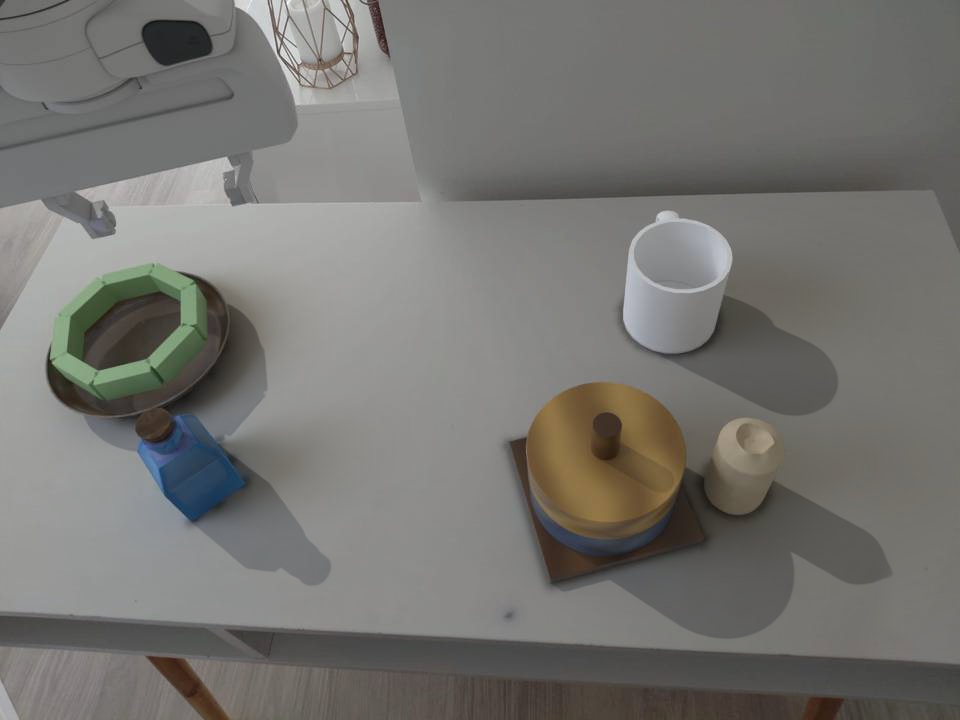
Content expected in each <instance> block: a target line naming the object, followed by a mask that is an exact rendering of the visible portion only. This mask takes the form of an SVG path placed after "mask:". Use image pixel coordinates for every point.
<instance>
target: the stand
mask: <svg viewBox="0 0 960 720" xmlns="http://www.w3.org/2000/svg"><path fill="white" fill-rule="evenodd" d="M684 437H685V436H684V435H683V432H682V429H681V427H680V425H679V424H678V422H677V420H676V419H675V417H674V416H673V414H672V413H671V412H670V410H668V409H667V407H666V406H665V405H663V403H661V402H660V401H659V400H657V398H655V397H653V396H652V395H650V394H649V393H647V392H645V391H643V390H641V389H638V388H637V387H633V386H630V385H626V384H623V383H620V382H619V383H618V382H610V381H595V382H587V383H583V384H578V385H576V386H573V387H570V388H567V389H565V390H563V391H561V392H560V393H558V394H556V395H555V396H554V397H552V398H550V399H549V400H548V401H547V402H546V403H545V404H544V405H543V406H542V407H541V408H540V410H539V411H538V412H537V414H536V415H535V417H534V419H533V421H532V422H531V425H530V427H529V430H528V432H527V436H526V437H525V436H524V437H522V438H518V439H514V440H510V441H508V445H509V446H508V447H509V449H510V450H509V451H510V453H511V457H512V460H513V464H514V467H515V470H516V473H517V477H518V481H519V484H520V487H521V491H522V494H523V498H524V500H525V504H526V507H527V511H528V514H529V517H530V520H531V525H532V527H533V531H534V534H535V538H536V540H537V541H536V542H537V544H538V548H539V551H540V554H541V558H542V561H543V565H544V568H545V571H546V574H547V578H548V581H549V584H554V583H558V582H560V581H565V580H568V579H573V578H576V577H579V576H583V575H587V574H590V573H594V572H595V573H596V572H598V571H602V570H606V569H609V568H613V567H617V566H620V565H624V564H627V563H631V562H632V563H633V562H635V561H640V560H642V559H647V558H651V557H654V556H657V555H661V554H664V553H668V552H672V551H676V550H679V549H683V548H687V547H691V546H694V545H699V544H702V543H703V542H704V540H705V535H704V533H703V531H702V529H701V528H702V527H700V526H701V525H700V524H699V522H698V519H697V517H696V515H695V512H694V511H693V508H692V505H691V503H690V501H689V498H688V496H687V494H686V492H685V489H684V488H683V485H682V480H683V477H684V475H685V474H684V473H685V469H686V464H687V448H686V447H687V446H686V442H685V438H684Z"/></svg>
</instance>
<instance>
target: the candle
mask: <svg viewBox="0 0 960 720" xmlns="http://www.w3.org/2000/svg"><path fill="white" fill-rule="evenodd" d="M718 434H719V435H718V437H717V440H716V443H715V446H714V449H713V451H712V455H711V458H710V460H709V464H708V467H707V470H706V472H705V475H704V482H703V486H704V487H703V488H704V492H705V495H706V497H707V499H708V501H709V502H710V503H711V504H712V505H713V506H714V507H715V508H716V509H718V510H720V511H721V512H723V513H726V514H729V515H735V516H736V515H737V516H741V515H742V516H743V515H747V514H750V513H752V512H754V511H755V510H756V509H757V508H758V507H760V506H761V504H762V502H763V501H764V500H765V498H766V495H767V494H768V491H769V490H770V487H771V485H772V484H773V481H774V479H775V478H776V476H777V474H778V471H779V470H780V468H781V466H782V464H783V462H784V460H785V456H786V444H785V440H784V439H783V436H782V435H781V434H780V432H779V430H777V429H776V428H775V427H774V426H772V425H771V424H770V423H768V422H766V421H764V420H762V419H758V418H755V417H740V418H736V419H733V420H731V421H730V422H728V423H726V424H725V425H724V426H723V427H722V429H721V430H720V432H719V433H718Z"/></svg>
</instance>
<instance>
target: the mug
mask: <svg viewBox="0 0 960 720" xmlns="http://www.w3.org/2000/svg"><path fill="white" fill-rule="evenodd" d="M732 265H733V252H732V248H731V246H730V244H729V242H728V240H727V239H726V238H725V236H723V235H722V234H721V233H720V231H718V230H716V229H715V228H713V227H712V226H710V225H708V224H706V223H703V222H700V221H698V220H695V219H694V220H693V219H688V218H680V215H679V213H678V212H676V211H673V210H663V211H659V213H658V214H656V217H655V222H653V223H651V224H647V225H646V226H645V227H644V228H642V229H641V230H640V231H638V232H637V233H636V235H635V236H634V237H633V239H632V240H631V243H630V246H629V249H628V256H627V268H626V279H625V287H624V299H623V310H622V314H623V315H622V319H623V324H624V327H625V329H626V332H627V333H628V334H629V335H630V337H631V338H632V339H633V340H634V341H636V342H637V344H639V345H640V346H642V347H644V348H646V349H649V350H651V351H653V352H657V353H661V354H665V355H666V354H667V355H669V354H671V355H672V354H673V355H678V354H683V353H689V352H691V351H694V350H696V349H698V348H700V347H702V346H703V345H704V344H705V343H707V342H708V341H709V340H710V338H711V336H712V335H713V333H714V332H715V329H716V326H717V322H718V318H719V314H720V310H721V306H722V302H723V300H724V299H723V298H724V294H725V291H726V286H727V285H728V279H729V275H730V271H731V267H732Z"/></svg>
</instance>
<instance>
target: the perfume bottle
mask: <svg viewBox="0 0 960 720" xmlns="http://www.w3.org/2000/svg"><path fill="white" fill-rule="evenodd" d="M134 431H135V433H136V435H137V436H138V437H139V444H138V447H137V451H136V453H137V455H138V456H139V457H140V459H141V462H143V464H144V465H145V467H146V469H147V470H148V472H149V474H150V475H151V477H152V478H153V480H154V481H155V483H156V485H157V486H158V488H159V490H160V491H161V493H162V494H163V496H164V497H165V498H166V499H167V500H168V501H169V503H171V504H172V505H173V506H174V507H175V508H176V509H177V510H178V511H179V512H180V513H181V514H182V515H183V516H185V518H186V519H188V521H190V522H191V523H194V521H196V520H198V519H199V518H200V517H201V516H203V515H205V514H206V513H207V512H209V511H210V510H212V509H213V508H214V507H216V506H217V505H218V504H220V503H221V502H223V501H224V500H226V499H227V498H229V497H230V496H232V494H235V492H237V491H238V490H240V489H241V488H242V487H244V486H245V485H247V484H246V482H245V480H244V479H243V477H242V476H241V474H240V473H239V472H238V470H237V469H236V467H235V466H234V464H233V463H232V462H231V460H230V459H229V458H228V456H227V455H226V454H225V452H224V451H223V448H221V446H220V445H219V443H218V442H217V440H215V438H214V437H213V436H212V435H211V433H210V432H209V431H208V429H207V428H206V427H205V426H204V424H203V422H201V420H200V419H199V418H198V417H197V416H196V415H195V414H194V413H191V414H190V413H189V414H178V415H176V416H174V415H171V414H170V413H169V412H168V411H167V410H166V409H164V408H163V407H162V408H154V409H150V410H148V411H146V412H145V413H143V414H142V415H139V417H138V418H137V420H136V422H135V424H134Z"/></svg>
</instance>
